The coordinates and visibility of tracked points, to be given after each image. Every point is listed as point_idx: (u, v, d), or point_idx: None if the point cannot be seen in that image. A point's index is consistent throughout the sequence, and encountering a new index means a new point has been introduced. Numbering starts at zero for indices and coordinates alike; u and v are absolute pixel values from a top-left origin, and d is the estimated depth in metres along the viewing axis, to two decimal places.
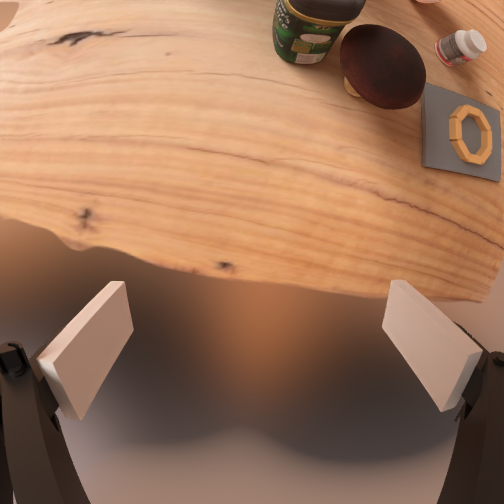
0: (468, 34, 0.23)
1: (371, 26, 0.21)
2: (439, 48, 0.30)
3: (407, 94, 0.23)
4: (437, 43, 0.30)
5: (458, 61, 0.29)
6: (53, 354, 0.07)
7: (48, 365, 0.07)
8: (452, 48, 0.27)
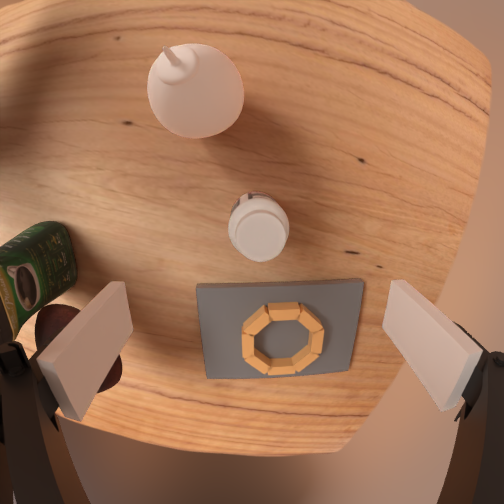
0: (235, 232, 0.23)
1: (40, 323, 0.21)
2: None
3: None
4: None
5: None
6: (53, 354, 0.07)
7: (48, 365, 0.07)
8: None
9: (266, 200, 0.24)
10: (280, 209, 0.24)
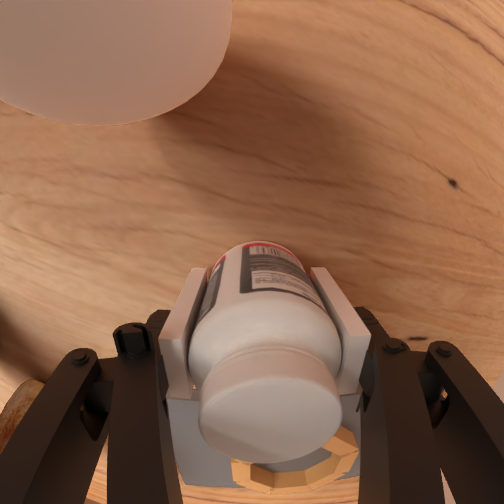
0: (199, 410, 0.07)
1: None
2: None
3: None
4: None
5: None
6: (176, 332, 0.09)
7: (173, 342, 0.09)
8: None
9: (290, 303, 0.08)
10: (326, 326, 0.09)
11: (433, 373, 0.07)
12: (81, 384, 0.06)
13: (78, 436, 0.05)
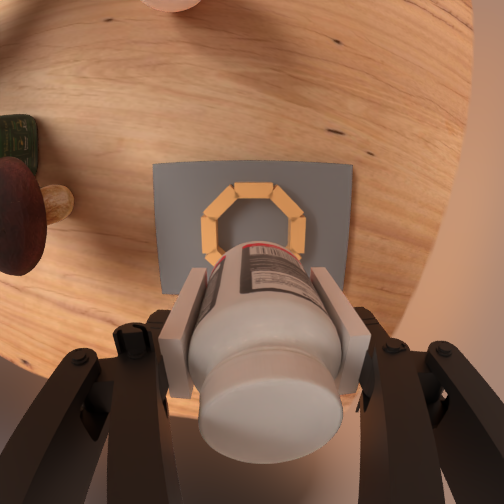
0: None
1: None
2: None
3: (8, 267, 0.17)
4: (209, 278, 0.15)
5: None
6: (176, 332, 0.09)
7: (173, 343, 0.09)
8: None
9: (290, 303, 0.08)
10: (326, 326, 0.09)
11: (433, 373, 0.07)
12: (81, 384, 0.06)
13: (78, 436, 0.05)
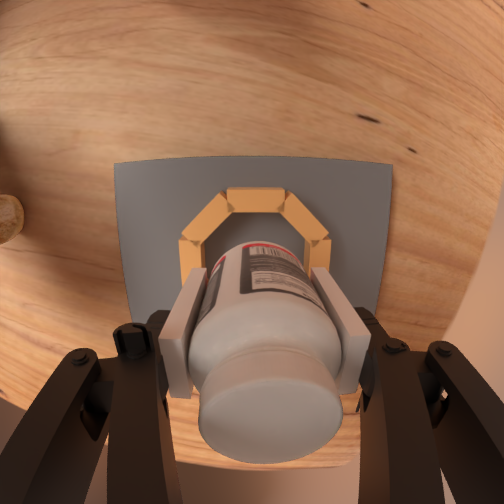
0: (199, 411, 0.07)
1: None
2: None
3: None
4: (209, 278, 0.15)
5: None
6: (176, 332, 0.09)
7: (173, 342, 0.09)
8: None
9: (290, 304, 0.08)
10: (326, 326, 0.09)
11: (433, 374, 0.07)
12: (81, 384, 0.06)
13: (78, 436, 0.05)
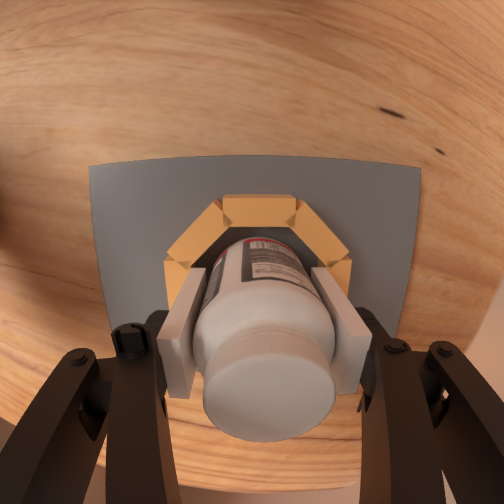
0: None
1: None
2: None
3: None
4: (212, 271, 0.15)
5: None
6: (174, 332, 0.09)
7: (171, 343, 0.09)
8: None
9: (287, 290, 0.09)
10: (320, 312, 0.09)
11: (434, 373, 0.07)
12: (79, 384, 0.06)
13: (77, 436, 0.05)
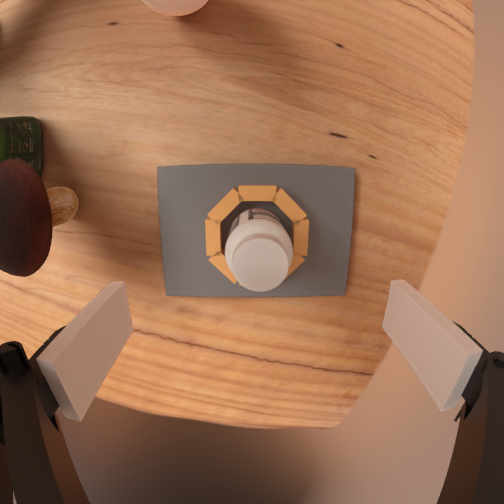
0: (232, 258, 0.20)
1: None
2: None
3: (13, 268, 0.18)
4: (231, 226, 0.28)
5: None
6: (53, 354, 0.07)
7: (48, 365, 0.07)
8: None
9: (268, 222, 0.22)
10: (283, 232, 0.22)
11: None
12: None
13: None
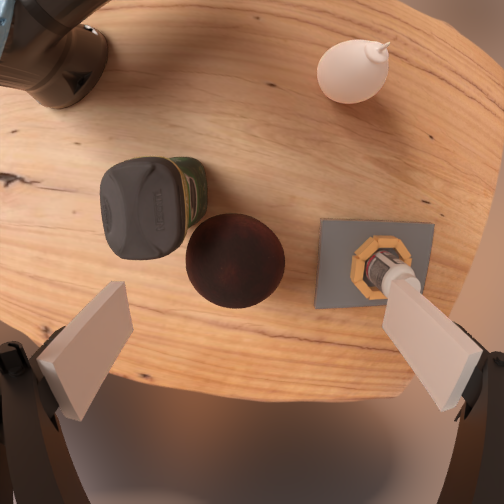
0: None
1: (212, 230, 0.29)
2: (368, 272, 0.41)
3: (247, 304, 0.31)
4: (369, 262, 0.41)
5: None
6: (53, 354, 0.07)
7: (48, 365, 0.07)
8: (377, 286, 0.38)
9: (407, 265, 0.35)
10: (413, 271, 0.35)
11: None
12: None
13: None
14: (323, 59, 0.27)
